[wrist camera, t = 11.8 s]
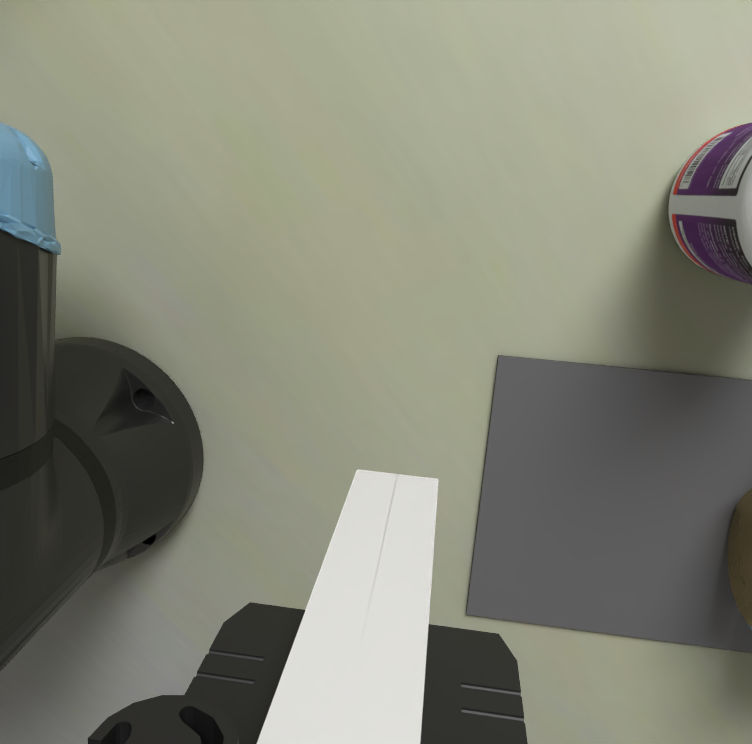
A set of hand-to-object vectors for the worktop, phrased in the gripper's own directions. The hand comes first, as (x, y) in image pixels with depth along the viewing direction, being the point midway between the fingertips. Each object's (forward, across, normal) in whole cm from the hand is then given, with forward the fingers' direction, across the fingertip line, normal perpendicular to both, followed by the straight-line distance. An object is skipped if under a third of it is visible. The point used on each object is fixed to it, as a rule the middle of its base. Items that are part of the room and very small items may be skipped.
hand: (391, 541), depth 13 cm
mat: (+29, +18, -12) cm, 37 cm away
